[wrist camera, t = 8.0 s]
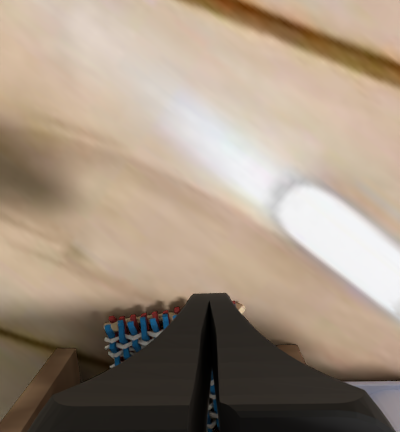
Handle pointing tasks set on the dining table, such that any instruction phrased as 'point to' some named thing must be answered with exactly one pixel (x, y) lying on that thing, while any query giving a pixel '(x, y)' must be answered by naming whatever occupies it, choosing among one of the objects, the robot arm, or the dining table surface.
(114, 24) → the dining table surface
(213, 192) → the dining table surface
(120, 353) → the woven mat
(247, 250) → the dining table surface
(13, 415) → the walnut open box
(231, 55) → the dining table surface
